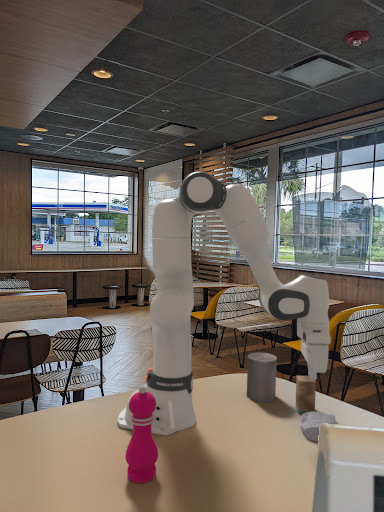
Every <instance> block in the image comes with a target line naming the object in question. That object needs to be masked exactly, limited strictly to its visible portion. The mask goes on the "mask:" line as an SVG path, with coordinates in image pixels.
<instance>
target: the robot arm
mask: <svg viewBox="0 0 384 512" xmlns="http://www.w3.org/2000/svg"><path fill="white" fill-rule="evenodd" d="M209 212H212V213H215V214H217V216H218V217H219V218H220V220H222V222H223V226H224V228H225V230H226V232H227V234H228V236H229V238H230V239H231V241H232V242H233V244H234V245H235V247H236V248H237V250H238V251H239V253H241V255H242V256H243V258H245V260H246V262H247V264H248V266H249V268H250V270H251V273H252V274H253V277H254V279H255V281H256V283H257V287H258V301H259V305H260V306H261V309H262V310H263V311H265V312H266V313H267V314H269V315H270V316H272V317H273V318H274V319H276V320H278V321H283V322H284V321H285V322H287V321H292V320H296V335H297V337H298V338H300V340H301V341H300V351H301V354H302V356H303V358H304V360H305V361H306V363H307V370H308V372H307V373H308V375H307V376H309V377H310V379H312V380H315V381H316V380H317V377H318V376H317V374H318V373H319V374H320V373H321V374H325V373H327V369H328V364H329V363H328V361H329V360H328V359H329V345H330V344H331V343H332V338H331V335H330V317H329V316H328V315H329V314H328V312H329V311H328V310H329V308H330V291H329V290H330V289H329V285H328V284H329V283H328V281H327V280H326V279H325V278H323V277H321V276H318V275H312V274H307V273H305V274H300V275H299V276H298V277H296V278H295V279H293V280H291V281H289V282H287V283H285V284H284V283H282V281H280V279H278V277H277V274H276V273H275V270H274V268H273V266H272V262H271V261H270V259H269V255H268V252H267V251H268V250H267V249H268V248H267V246H268V241H269V238H270V234H269V233H270V232H269V230H268V229H269V228H268V226H267V223H266V220H265V217H264V215H263V213H262V211H261V209H260V207H259V206H258V203H257V202H256V200H255V199H254V197H253V195H252V194H251V193H250V191H249V190H248V189H247V187H246V186H244V184H242V183H233V184H229V185H227V186H226V185H225V184H224V183H223V182H221V181H220V180H218V178H216V177H215V176H213V175H212V174H210V173H208V172H205V171H196V172H192V173H190V174H188V175H187V176H186V177H185V178H184V179H183V181H182V182H181V184H180V188H179V193H178V195H177V196H176V197H174V198H168V199H163V200H162V201H159V202H158V203H156V205H155V207H154V211H153V217H152V225H151V226H152V228H151V238H152V239H151V242H152V243H151V244H152V250H151V251H152V268H153V271H154V279H155V283H156V294H155V295H154V296H153V298H152V299H151V302H150V305H149V316H150V327H151V328H150V329H151V336H152V343H153V344H152V345H153V348H152V349H153V352H152V353H153V354H152V355H153V357H152V359H153V362H152V364H153V366H152V367H149V368H148V370H147V373H146V376H145V384H143V385H142V386H145V387H146V388H147V391H146V392H149V393H151V394H152V395H153V396H154V397H155V400H156V409H155V410H154V412H153V414H154V417H153V418H154V421H153V422H152V425H151V431H152V434H155V435H160V436H161V435H162V436H170V435H172V434H174V433H175V432H176V433H177V432H179V431H183V430H187V429H189V428H190V427H192V426H194V425H195V423H196V421H197V417H196V414H195V413H196V412H195V409H194V404H193V389H194V376H193V373H194V372H193V370H192V347H193V346H192V334H191V333H192V330H191V314H192V311H193V310H194V307H195V306H194V305H195V299H194V298H195V297H194V296H195V293H194V281H193V279H194V278H193V271H192V270H193V269H192V267H193V266H192V242H191V240H192V239H191V223H192V219H193V218H195V217H198V216H201V215H203V214H206V213H209ZM137 392H139V388H138V389H137V390H135V391H134V392H132V393H131V395H130V396H129V398H128V401H127V403H126V406H125V408H123V409H122V411H120V413H119V415H118V417H117V425H118V427H119V428H122V429H127V430H133V423H132V422H131V415H132V413H131V411H130V409H129V401H130V398H131V397H132V396H133V395H134V394H135V393H137Z"/></svg>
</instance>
